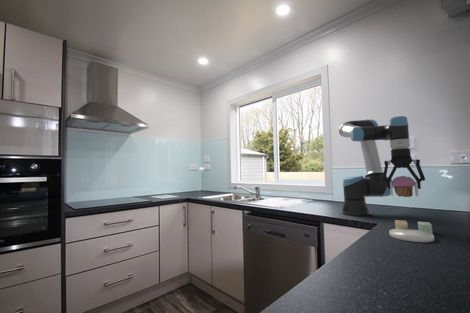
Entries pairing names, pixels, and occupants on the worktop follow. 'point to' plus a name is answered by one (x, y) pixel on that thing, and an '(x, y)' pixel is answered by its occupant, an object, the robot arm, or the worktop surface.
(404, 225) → the beech brick
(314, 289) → the worktop surface
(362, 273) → the worktop surface
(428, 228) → the sage block
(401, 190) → the cupcake
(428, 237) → the plate
